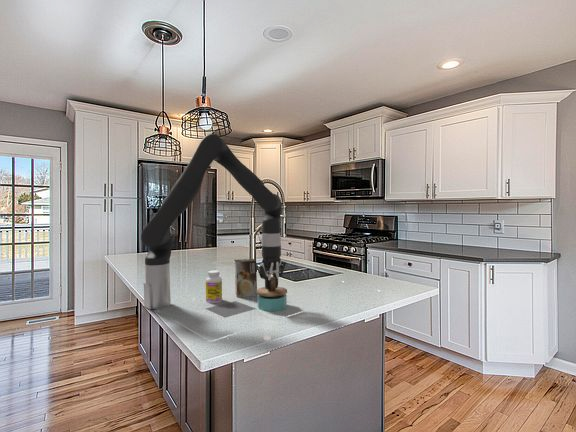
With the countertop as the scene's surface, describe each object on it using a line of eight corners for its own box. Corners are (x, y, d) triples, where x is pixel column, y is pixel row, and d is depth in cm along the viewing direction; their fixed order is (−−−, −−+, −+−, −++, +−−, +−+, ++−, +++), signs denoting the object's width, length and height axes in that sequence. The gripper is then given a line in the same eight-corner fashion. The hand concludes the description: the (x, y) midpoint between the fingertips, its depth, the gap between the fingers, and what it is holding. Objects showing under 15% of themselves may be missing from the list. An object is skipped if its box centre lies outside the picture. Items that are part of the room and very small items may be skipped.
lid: (270, 298, 120) (270, 282, 119) (250, 292, 128) (250, 277, 128) (293, 292, 128) (293, 277, 128) (273, 286, 137) (273, 273, 136)
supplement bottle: (205, 304, 133) (204, 273, 133) (206, 300, 140) (205, 270, 139) (222, 303, 135) (221, 272, 134) (222, 299, 141) (221, 269, 141)
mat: (224, 318, 116) (224, 317, 116) (205, 309, 127) (205, 308, 127) (256, 309, 126) (256, 308, 126) (235, 302, 136) (235, 301, 136)
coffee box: (254, 293, 150) (254, 258, 150) (257, 296, 144) (256, 260, 144) (234, 294, 148) (234, 259, 147) (236, 298, 142) (235, 261, 141)
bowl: (270, 314, 121) (270, 301, 120) (252, 307, 129) (252, 295, 128) (291, 307, 128) (291, 295, 128) (273, 301, 136) (273, 290, 136)
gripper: (263, 247, 120) (263, 293, 121) (290, 243, 130) (291, 287, 130) (251, 245, 125) (251, 290, 126) (278, 242, 135) (278, 283, 136)
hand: (271, 288), depth 128 cm, fingers closed on lid, 3 cm apart
